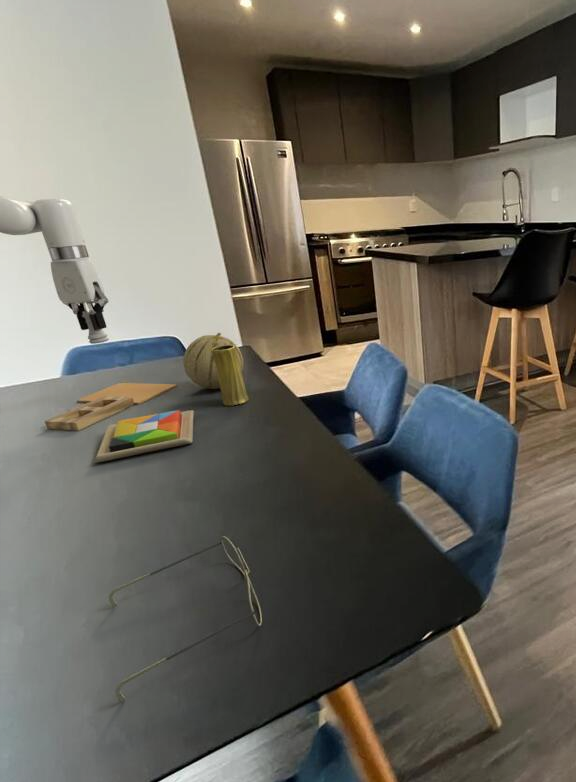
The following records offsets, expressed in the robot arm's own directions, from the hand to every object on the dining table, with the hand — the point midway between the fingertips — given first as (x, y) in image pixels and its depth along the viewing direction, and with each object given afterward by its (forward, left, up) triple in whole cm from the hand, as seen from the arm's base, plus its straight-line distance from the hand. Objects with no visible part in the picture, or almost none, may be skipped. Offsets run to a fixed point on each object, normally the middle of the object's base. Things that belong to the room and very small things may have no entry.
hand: (94, 328), depth 126 cm
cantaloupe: (+25, +10, -19) cm, 33 cm away
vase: (+37, 0, -19) cm, 42 cm away
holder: (+5, -12, -19) cm, 23 cm away
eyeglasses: (+76, -65, -19) cm, 102 cm away
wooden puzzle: (+31, -22, -19) cm, 43 cm away
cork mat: (+1, +3, -19) cm, 19 cm away
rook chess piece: (0, 0, -4) cm, 4 cm away
